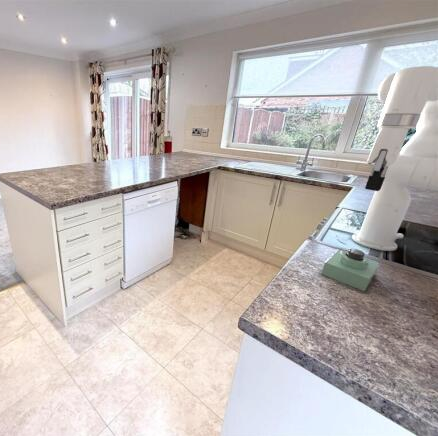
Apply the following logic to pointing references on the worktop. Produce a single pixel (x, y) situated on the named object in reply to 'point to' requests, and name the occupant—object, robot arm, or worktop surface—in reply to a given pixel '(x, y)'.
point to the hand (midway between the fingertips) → (372, 189)
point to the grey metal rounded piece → (355, 254)
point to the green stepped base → (350, 270)
